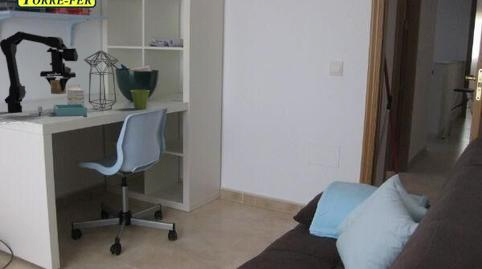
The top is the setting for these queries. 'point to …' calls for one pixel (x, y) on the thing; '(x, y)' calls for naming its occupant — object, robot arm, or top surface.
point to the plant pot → (140, 98)
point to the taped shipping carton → (56, 87)
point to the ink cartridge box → (75, 94)
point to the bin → (70, 110)
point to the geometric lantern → (100, 76)
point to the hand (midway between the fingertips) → (58, 90)
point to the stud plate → (40, 113)
